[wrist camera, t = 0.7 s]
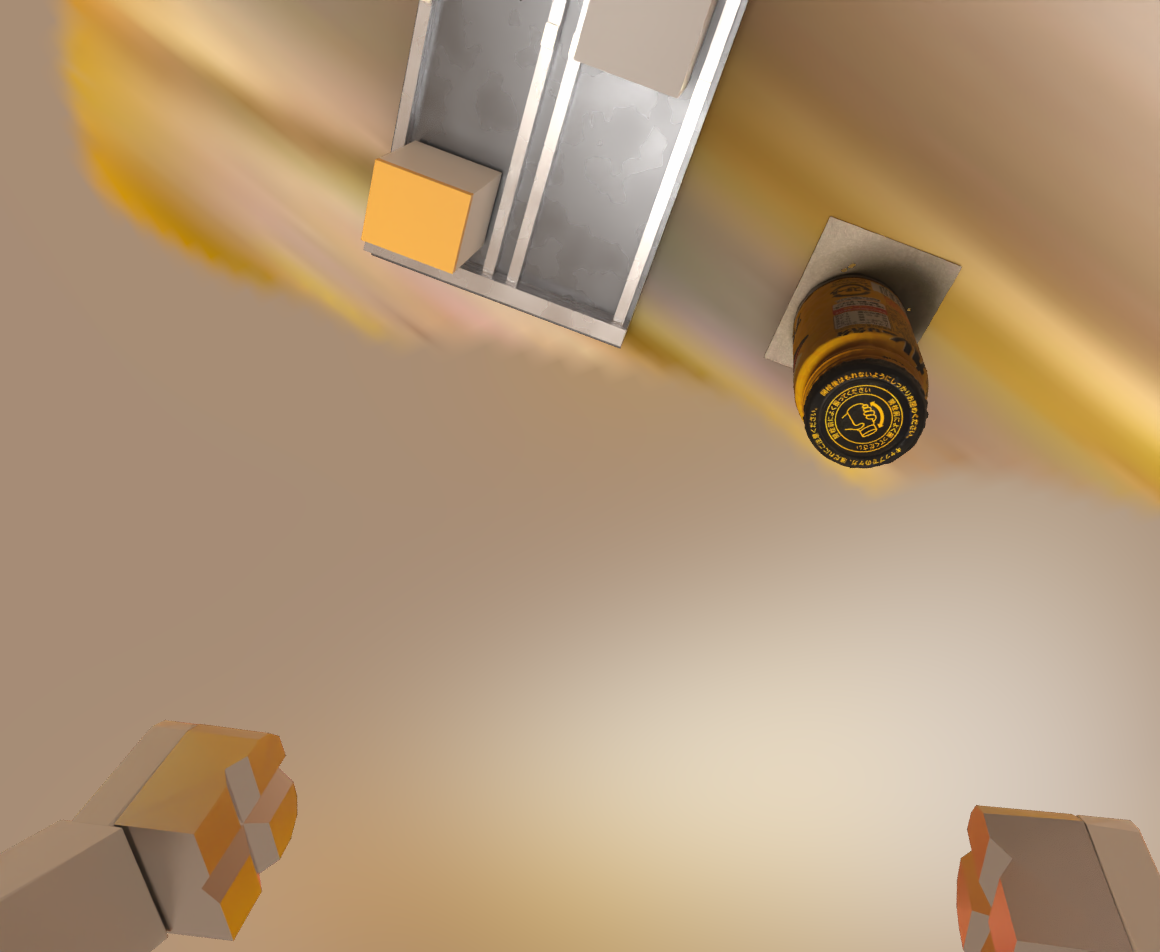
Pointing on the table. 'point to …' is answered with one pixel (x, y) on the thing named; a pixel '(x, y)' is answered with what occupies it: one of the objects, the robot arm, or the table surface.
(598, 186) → the grey tray
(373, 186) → the fader
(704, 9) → the block
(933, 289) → the condiment
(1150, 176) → the table surface
